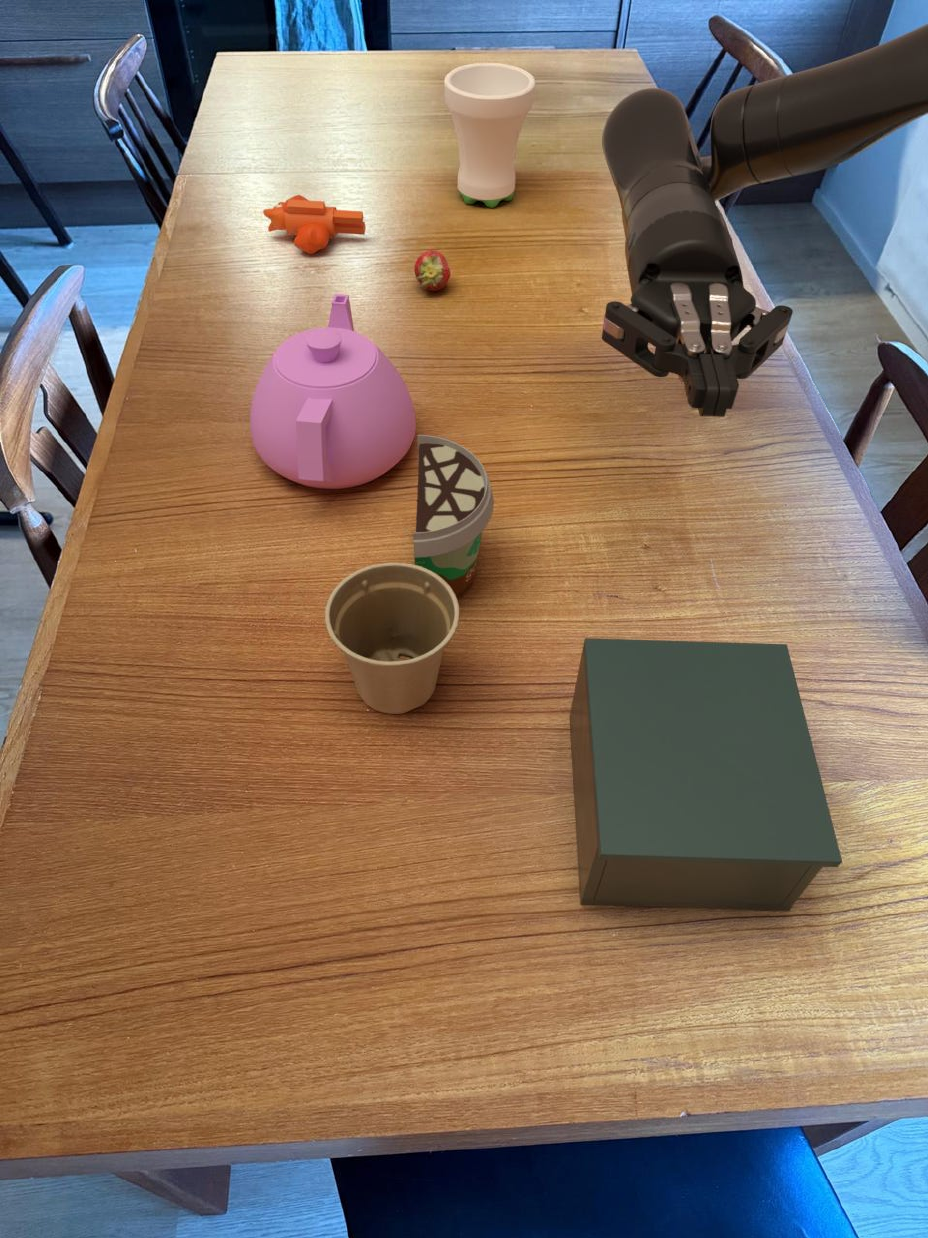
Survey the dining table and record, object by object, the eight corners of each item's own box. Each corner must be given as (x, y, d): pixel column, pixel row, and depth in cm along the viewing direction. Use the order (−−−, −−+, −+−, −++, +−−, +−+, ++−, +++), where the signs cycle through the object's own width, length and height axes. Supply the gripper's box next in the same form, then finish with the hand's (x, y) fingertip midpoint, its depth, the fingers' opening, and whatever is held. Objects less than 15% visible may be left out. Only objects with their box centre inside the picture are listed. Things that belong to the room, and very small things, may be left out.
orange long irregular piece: (363, 189, 108) (266, 184, 109) (355, 238, 106) (255, 232, 106) (368, 221, 113) (275, 216, 114) (361, 268, 110) (265, 262, 111)
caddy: (788, 911, 58) (834, 853, 52) (580, 905, 58) (597, 845, 52) (749, 721, 68) (783, 651, 61) (569, 716, 68) (583, 645, 61)
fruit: (453, 274, 107) (454, 234, 103) (447, 301, 104) (448, 260, 100) (418, 271, 108) (417, 231, 104) (411, 299, 104) (410, 258, 100)
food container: (491, 625, 73) (497, 539, 65) (416, 624, 73) (413, 538, 65) (488, 519, 81) (492, 431, 73) (420, 518, 81) (417, 430, 73)
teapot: (407, 527, 80) (402, 418, 71) (234, 520, 80) (206, 411, 71) (424, 378, 94) (421, 272, 85) (276, 373, 94) (257, 266, 85)
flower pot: (449, 628, 73) (450, 555, 66) (466, 726, 67) (468, 656, 60) (333, 640, 72) (321, 567, 65) (339, 740, 66) (328, 671, 59)
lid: (838, 868, 51) (842, 862, 50) (598, 860, 51) (600, 854, 50) (783, 650, 61) (787, 643, 60) (583, 644, 61) (584, 637, 60)
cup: (544, 197, 120) (554, 81, 109) (484, 224, 115) (488, 105, 104) (487, 168, 125) (491, 54, 114) (427, 193, 120) (425, 76, 109)
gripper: (756, 307, 68) (805, 456, 57) (583, 303, 68) (599, 450, 57) (784, 210, 63) (845, 354, 52) (595, 205, 63) (615, 348, 52)
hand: (715, 404), depth 54 cm, fingers closed
